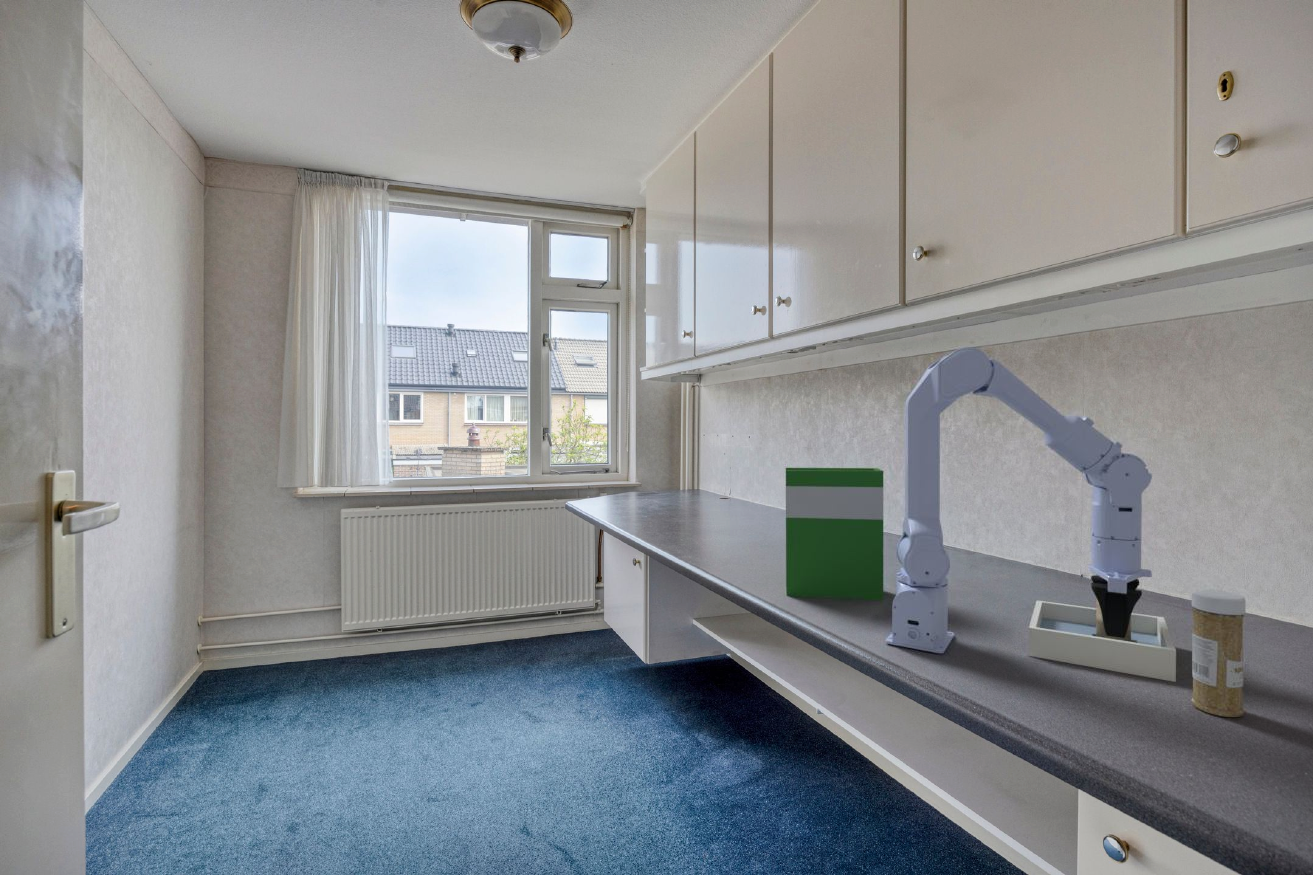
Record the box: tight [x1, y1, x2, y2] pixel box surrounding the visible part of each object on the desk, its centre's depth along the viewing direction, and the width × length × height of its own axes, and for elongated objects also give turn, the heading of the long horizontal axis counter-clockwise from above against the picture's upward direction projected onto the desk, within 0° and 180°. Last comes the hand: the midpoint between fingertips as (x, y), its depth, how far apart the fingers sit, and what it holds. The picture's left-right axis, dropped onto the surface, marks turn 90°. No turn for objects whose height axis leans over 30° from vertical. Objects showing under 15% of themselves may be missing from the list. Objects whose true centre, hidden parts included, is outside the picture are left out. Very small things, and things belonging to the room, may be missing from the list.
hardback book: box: [785, 467, 884, 601], centre depth 121 cm, size 18×7×24 cm, turn 79°
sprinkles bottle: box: [1191, 588, 1247, 718], centre depth 71 cm, size 5×5×13 cm
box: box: [1028, 600, 1177, 683], centre depth 90 cm, size 16×16×4 cm
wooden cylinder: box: [1095, 597, 1131, 642], centre depth 89 cm, size 4×4×8 cm
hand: (1114, 631), depth 89 cm, fingers closed on wooden cylinder, 4 cm apart
